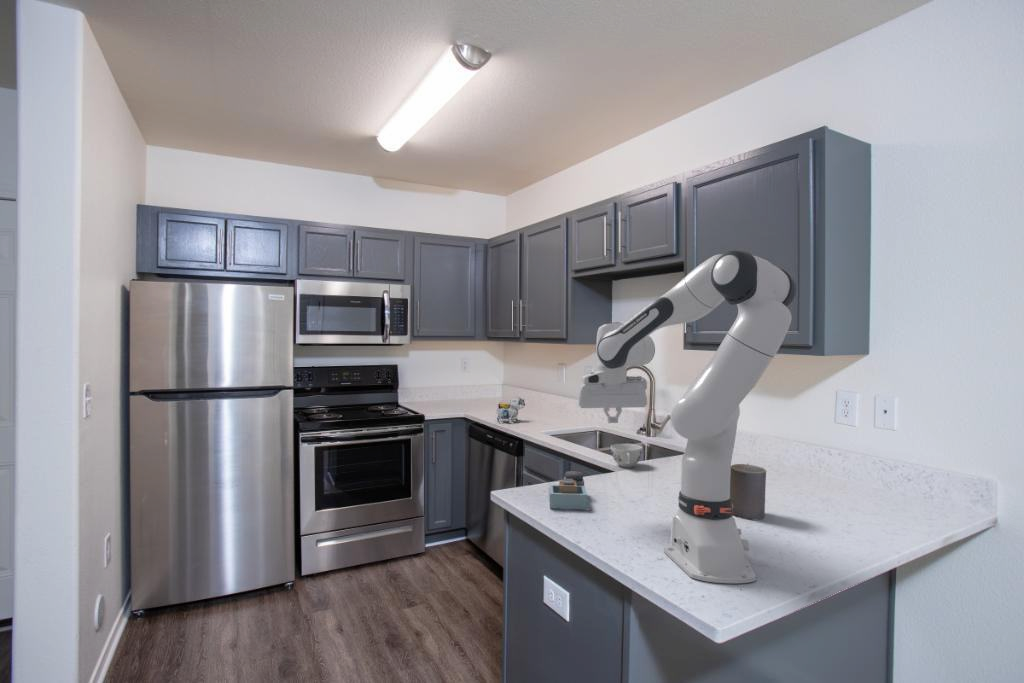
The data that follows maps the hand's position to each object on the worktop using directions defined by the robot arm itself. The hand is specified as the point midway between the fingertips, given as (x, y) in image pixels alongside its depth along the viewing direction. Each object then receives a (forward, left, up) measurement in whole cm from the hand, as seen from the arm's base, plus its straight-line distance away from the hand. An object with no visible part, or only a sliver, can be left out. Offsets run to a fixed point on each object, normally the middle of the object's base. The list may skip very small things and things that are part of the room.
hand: (612, 422), depth 158 cm
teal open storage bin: (+5, +13, -26) cm, 29 cm away
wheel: (+10, +11, -24) cm, 28 cm away
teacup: (+51, -13, -26) cm, 59 cm away
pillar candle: (-2, -39, -26) cm, 47 cm away
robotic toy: (+149, +38, -26) cm, 156 cm away
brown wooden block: (+2, +13, -24) cm, 27 cm away
